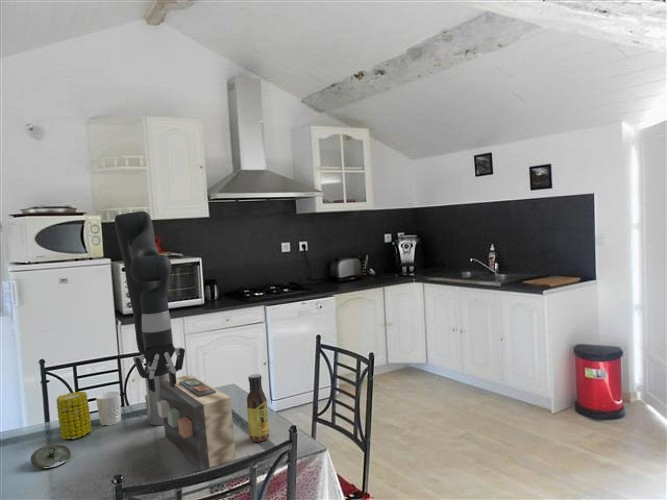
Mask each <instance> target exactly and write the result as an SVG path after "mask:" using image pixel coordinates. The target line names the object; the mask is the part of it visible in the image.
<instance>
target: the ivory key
mask: <svg viewBox="0 0 667 500" xmlns="http://www.w3.org/2000/svg"><path fill="white" fill-rule="evenodd" d="M157 405H158V415H159V416H160V417H162V418H165V417H168V416H167V410H169V409H170V406H169V402H167V401H166V400H162V401H158V402H157Z"/></svg>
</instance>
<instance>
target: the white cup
mask: <svg viewBox="0 0 667 500" xmlns="http://www.w3.org/2000/svg"><path fill="white" fill-rule="evenodd" d="M95 401H96V407H97V413H98V418H99V422H100V423H101V424H103V425H109V424H114V423H117V422H119V421H120V420H122V414H121V413H122V412H121V411H122V407H121V403H122V402H121V392H120V391H114V390H113V391H107V392H102V393H101V394H98V395H96V396H95ZM120 422H121V421H120ZM120 422H119V423H120ZM101 424H100V425H101ZM117 424H118V423H117ZM114 425H115V424H114Z"/></svg>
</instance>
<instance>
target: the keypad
mask: <svg viewBox="0 0 667 500" xmlns="http://www.w3.org/2000/svg"><path fill="white" fill-rule="evenodd" d="M160 388H161V398H162V400H166V401H167V402H169V406H170V409H172V408H176V409H177V410H179V411H180V418H184V417H187V418H189V419H190V420H191V421H192V431H193V435H192V436H189V437H186V438H184V437H183V436H181V435H180V434H179V426H177V427H171V426H170V425H169V424H168V417H165V418H164V424H163V427H164V434H165V435H164V437H165V438H167V439H168V440H169V442H171V443H172V444H173V445H174V446H175V447H176V448H177V449H178V450H179V451H180V452H181V453H182V454H183V455H184V456H185V457H186V458H187V459H188V460H189V461H190V462H191V463H192V464H193V465H194V466H195V467H197V468H198V471H201V472H202V471H205V470H207V469H210V468H213V467H215V466H218V465H221V464H225V463H228V462H230V461H233V460H236V459H237V455H236V444H235V433H234V424H233V422H234V421H233V411H232V410H233V409H232V401H231V400H232V399H231V397H230V395H227V394H225V393H224V392H222V391H220V390H219V389H217V388H215V387H213V386H212V385H210V384H208V383H207V382H205V380H204V381H203V380H202V379H200V378H198V377H197V376H195V375H193V374H187V375H183V376H180V377H176V384H175V387H171V386H170V382H169V380H166V381H162V382H160Z"/></svg>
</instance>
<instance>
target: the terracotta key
mask: <svg viewBox="0 0 667 500" xmlns="http://www.w3.org/2000/svg"><path fill="white" fill-rule="evenodd" d="M178 426H179V434H180V435H181V436H183V437H184V438H186V437H189V436H192V435H193V431H192V421H191V420H190V419H189V418H187V417H184V418H180V419H178Z"/></svg>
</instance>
